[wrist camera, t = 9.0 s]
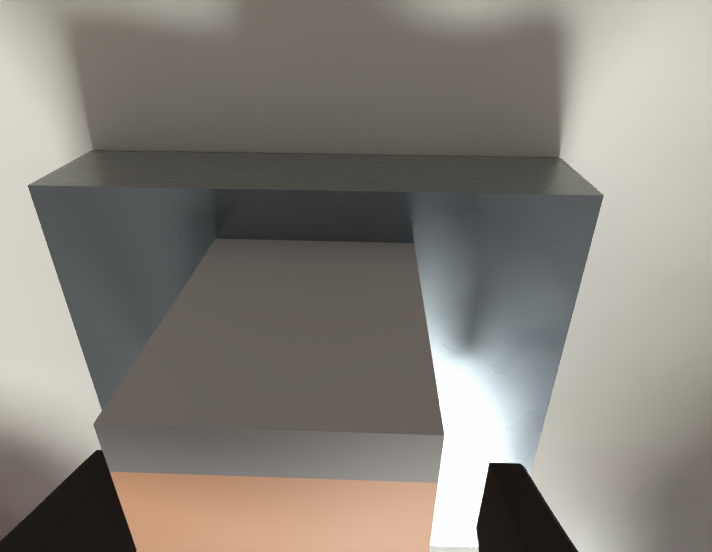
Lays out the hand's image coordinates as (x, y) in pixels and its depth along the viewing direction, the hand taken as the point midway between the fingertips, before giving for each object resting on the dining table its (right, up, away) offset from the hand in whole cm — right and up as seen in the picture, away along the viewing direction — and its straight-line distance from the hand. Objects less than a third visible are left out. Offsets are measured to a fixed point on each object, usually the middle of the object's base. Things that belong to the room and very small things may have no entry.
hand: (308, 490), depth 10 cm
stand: (0, +2, +4) cm, 5 cm away
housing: (0, +1, +2) cm, 2 cm away
